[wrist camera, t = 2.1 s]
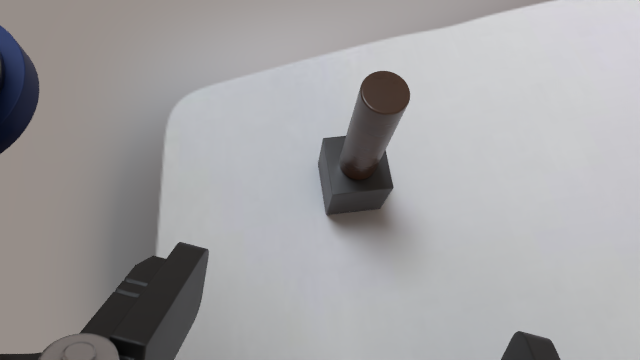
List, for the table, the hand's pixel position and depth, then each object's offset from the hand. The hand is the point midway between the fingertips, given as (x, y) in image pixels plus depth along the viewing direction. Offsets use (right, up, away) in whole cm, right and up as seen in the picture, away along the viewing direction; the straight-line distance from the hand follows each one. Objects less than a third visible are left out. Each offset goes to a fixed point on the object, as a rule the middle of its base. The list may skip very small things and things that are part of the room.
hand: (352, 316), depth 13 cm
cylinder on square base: (+1, +3, +20) cm, 20 cm away
